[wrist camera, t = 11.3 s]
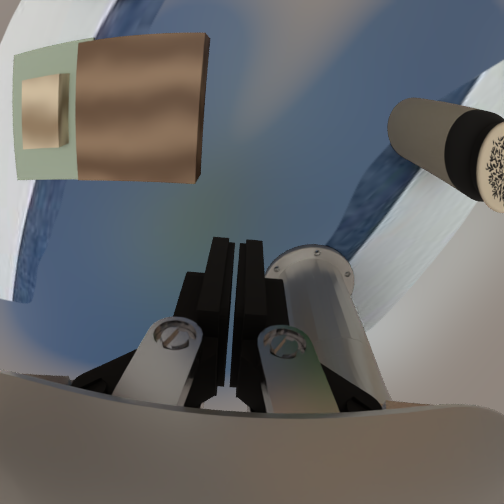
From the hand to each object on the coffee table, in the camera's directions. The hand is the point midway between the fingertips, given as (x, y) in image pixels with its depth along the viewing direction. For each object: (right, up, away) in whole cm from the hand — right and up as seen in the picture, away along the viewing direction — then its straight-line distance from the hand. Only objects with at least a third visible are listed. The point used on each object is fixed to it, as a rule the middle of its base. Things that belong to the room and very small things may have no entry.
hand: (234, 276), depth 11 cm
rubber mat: (-25, +19, +21) cm, 37 cm away
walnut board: (-12, +17, +21) cm, 30 cm away
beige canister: (+20, +16, +22) cm, 34 cm away
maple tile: (-25, +17, +18) cm, 35 cm away
